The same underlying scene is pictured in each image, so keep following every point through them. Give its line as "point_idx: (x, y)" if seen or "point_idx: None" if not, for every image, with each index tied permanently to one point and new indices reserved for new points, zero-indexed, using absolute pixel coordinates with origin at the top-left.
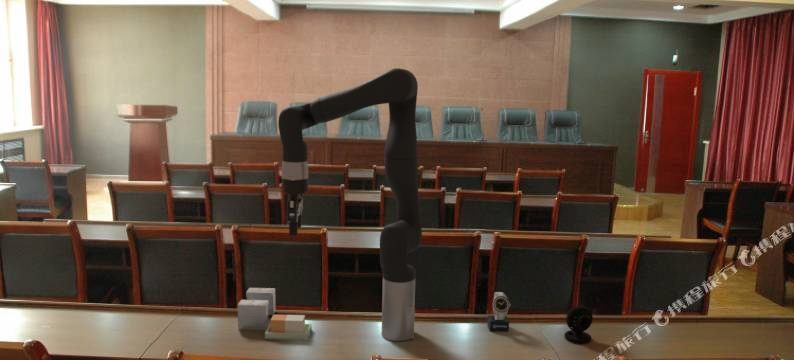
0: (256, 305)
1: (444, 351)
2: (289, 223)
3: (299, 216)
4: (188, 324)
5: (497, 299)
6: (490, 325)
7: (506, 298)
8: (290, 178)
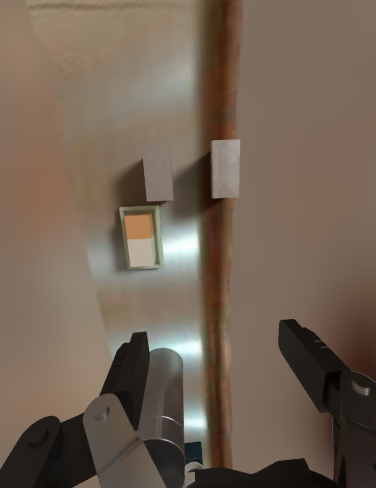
0: (145, 183)
1: None
2: (114, 387)
3: (317, 399)
4: (157, 48)
5: None
6: (185, 452)
7: None
8: None
